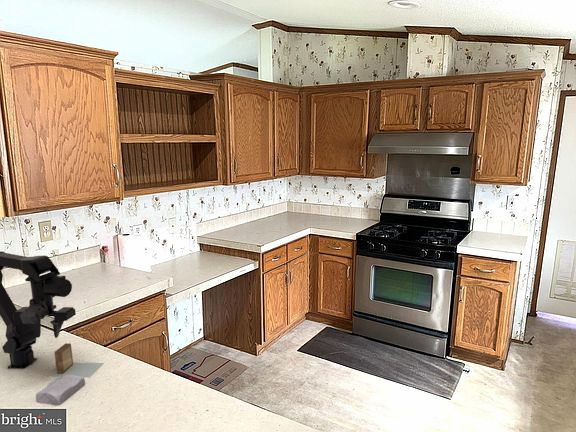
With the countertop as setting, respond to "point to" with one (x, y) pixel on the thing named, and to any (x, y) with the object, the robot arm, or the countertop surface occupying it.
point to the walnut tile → (63, 358)
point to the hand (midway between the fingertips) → (47, 337)
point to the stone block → (60, 389)
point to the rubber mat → (79, 370)
